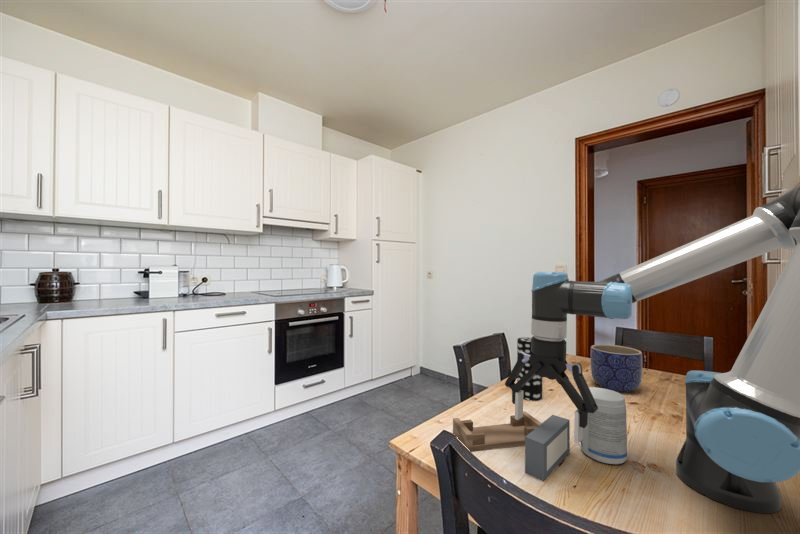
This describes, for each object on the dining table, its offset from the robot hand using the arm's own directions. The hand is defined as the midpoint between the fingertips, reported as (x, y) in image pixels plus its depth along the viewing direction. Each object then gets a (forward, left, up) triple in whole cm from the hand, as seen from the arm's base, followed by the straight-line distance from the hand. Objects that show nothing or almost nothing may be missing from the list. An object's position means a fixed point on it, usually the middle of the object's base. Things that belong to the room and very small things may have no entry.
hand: (546, 428), depth 74 cm
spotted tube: (+36, -20, -8) cm, 42 cm away
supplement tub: (0, -15, -8) cm, 17 cm away
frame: (0, 0, -8) cm, 8 cm away
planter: (+37, -58, -8) cm, 69 cm away
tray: (+12, +6, -8) cm, 15 cm away
